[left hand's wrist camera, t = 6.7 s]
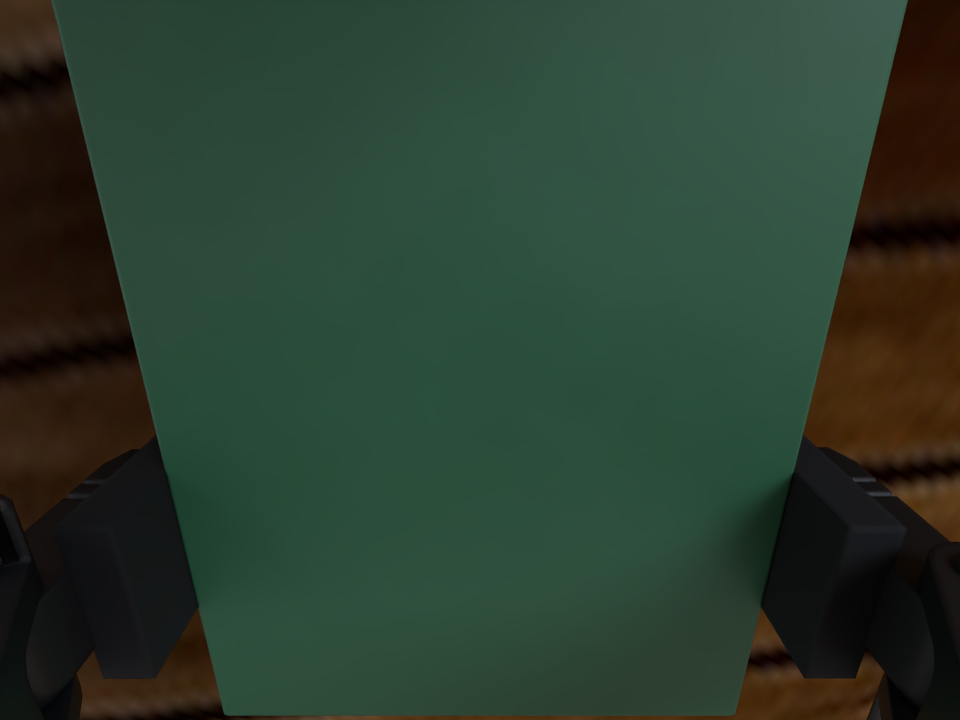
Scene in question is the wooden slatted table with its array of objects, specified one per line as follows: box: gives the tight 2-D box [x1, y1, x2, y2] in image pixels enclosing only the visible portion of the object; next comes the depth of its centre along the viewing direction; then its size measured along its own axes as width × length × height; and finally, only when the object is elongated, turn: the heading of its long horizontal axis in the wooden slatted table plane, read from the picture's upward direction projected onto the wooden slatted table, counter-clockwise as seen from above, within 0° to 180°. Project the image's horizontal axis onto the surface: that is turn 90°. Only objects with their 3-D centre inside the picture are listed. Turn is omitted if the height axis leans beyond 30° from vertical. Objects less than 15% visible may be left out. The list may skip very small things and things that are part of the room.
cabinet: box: [51, 0, 908, 715], centre depth 12 cm, size 14×10×10 cm
